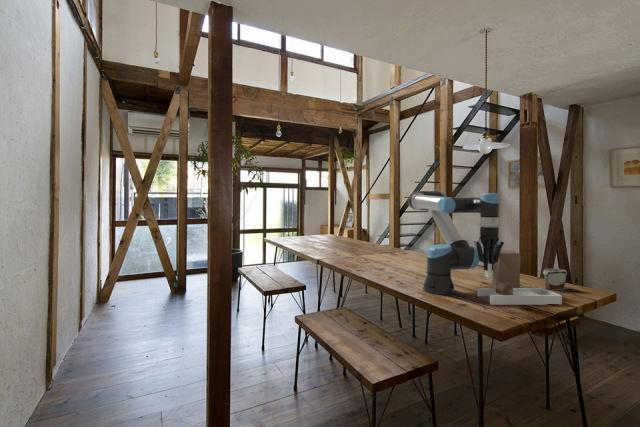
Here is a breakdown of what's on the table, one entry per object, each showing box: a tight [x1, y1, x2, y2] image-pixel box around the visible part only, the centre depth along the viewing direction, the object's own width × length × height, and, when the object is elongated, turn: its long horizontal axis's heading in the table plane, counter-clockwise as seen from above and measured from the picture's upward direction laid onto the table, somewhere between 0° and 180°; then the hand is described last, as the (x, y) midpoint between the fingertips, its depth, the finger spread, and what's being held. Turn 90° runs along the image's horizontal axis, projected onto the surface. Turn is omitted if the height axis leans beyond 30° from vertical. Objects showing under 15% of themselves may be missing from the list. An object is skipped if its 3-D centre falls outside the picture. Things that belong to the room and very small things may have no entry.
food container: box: [542, 268, 568, 291], centre depth 169 cm, size 12×6×10 cm, turn 100°
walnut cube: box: [496, 282, 513, 295], centre depth 148 cm, size 5×5×5 cm
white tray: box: [476, 287, 563, 306], centre depth 148 cm, size 32×12×4 cm, turn 91°
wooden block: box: [491, 249, 522, 288], centre depth 166 cm, size 10×10×20 cm
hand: (488, 277), depth 147 cm, fingers closed
